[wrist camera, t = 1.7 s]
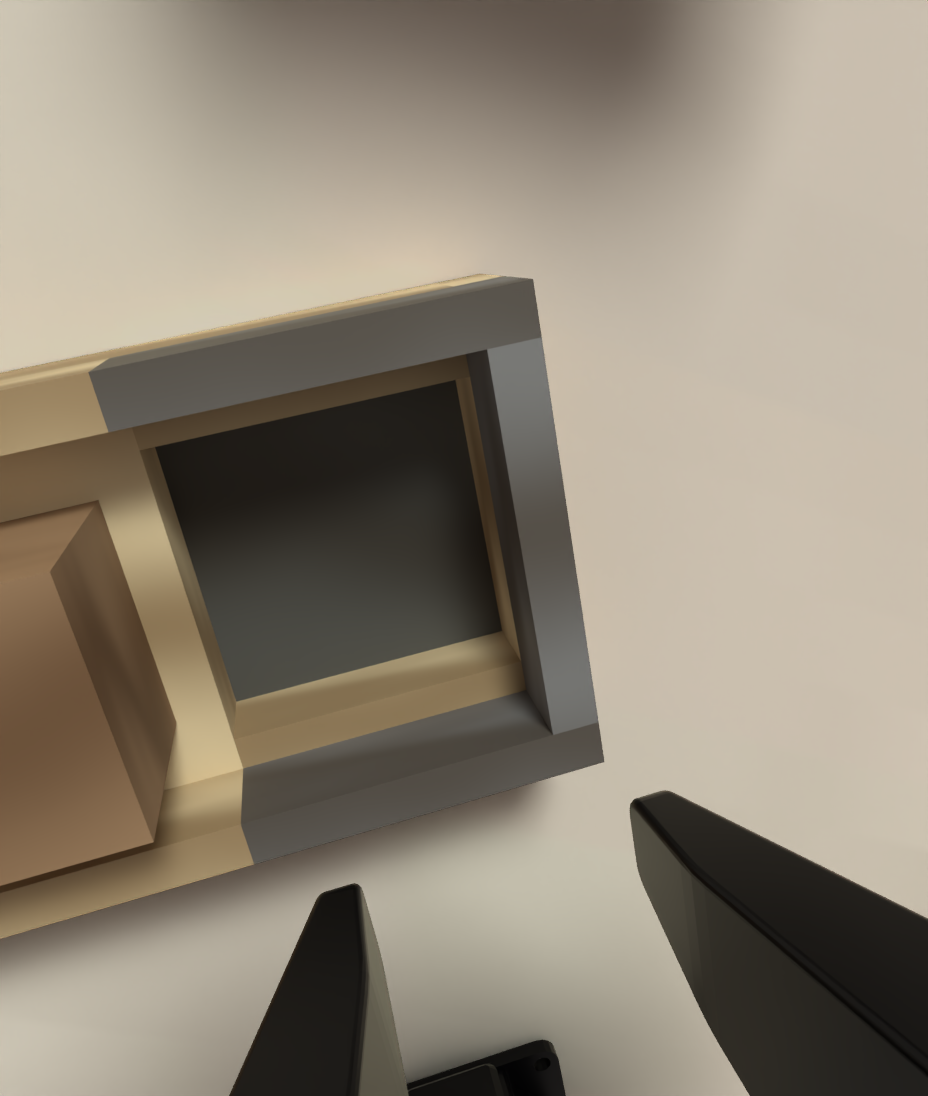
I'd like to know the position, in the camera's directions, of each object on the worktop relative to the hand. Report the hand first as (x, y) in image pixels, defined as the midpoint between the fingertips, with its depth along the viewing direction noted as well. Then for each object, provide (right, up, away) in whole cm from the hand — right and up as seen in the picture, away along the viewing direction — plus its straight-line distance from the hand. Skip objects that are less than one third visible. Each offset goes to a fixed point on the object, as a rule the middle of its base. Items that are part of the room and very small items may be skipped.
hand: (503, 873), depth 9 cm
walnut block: (-9, +1, +8) cm, 12 cm away
